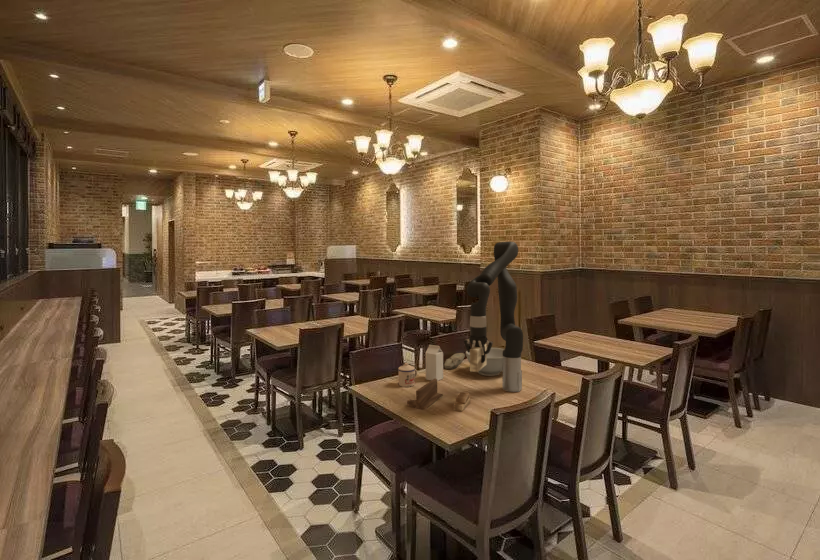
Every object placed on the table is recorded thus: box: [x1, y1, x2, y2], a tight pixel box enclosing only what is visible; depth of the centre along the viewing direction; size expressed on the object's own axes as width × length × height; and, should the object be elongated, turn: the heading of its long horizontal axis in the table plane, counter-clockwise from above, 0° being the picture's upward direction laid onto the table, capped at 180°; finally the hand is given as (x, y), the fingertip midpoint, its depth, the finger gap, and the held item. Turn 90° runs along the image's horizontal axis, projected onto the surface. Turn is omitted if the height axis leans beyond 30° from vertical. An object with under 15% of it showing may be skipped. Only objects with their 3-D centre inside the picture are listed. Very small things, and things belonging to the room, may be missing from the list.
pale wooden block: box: [469, 343, 488, 373], centre depth 202 cm, size 4×14×10 cm, turn 153°
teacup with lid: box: [397, 362, 418, 388], centre depth 234 cm, size 12×9×12 cm
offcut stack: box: [453, 391, 471, 412], centre depth 200 cm, size 5×11×5 cm, turn 153°
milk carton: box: [424, 344, 444, 382], centre depth 243 cm, size 7×7×19 cm
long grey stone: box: [443, 352, 466, 370], centre depth 278 cm, size 35×5×10 cm
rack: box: [406, 379, 444, 411], centre depth 208 cm, size 9×21×8 cm, turn 153°
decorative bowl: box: [465, 347, 505, 377], centre depth 253 cm, size 27×27×12 cm
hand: (478, 361), depth 203 cm, fingers closed on pale wooden block, 3 cm apart
